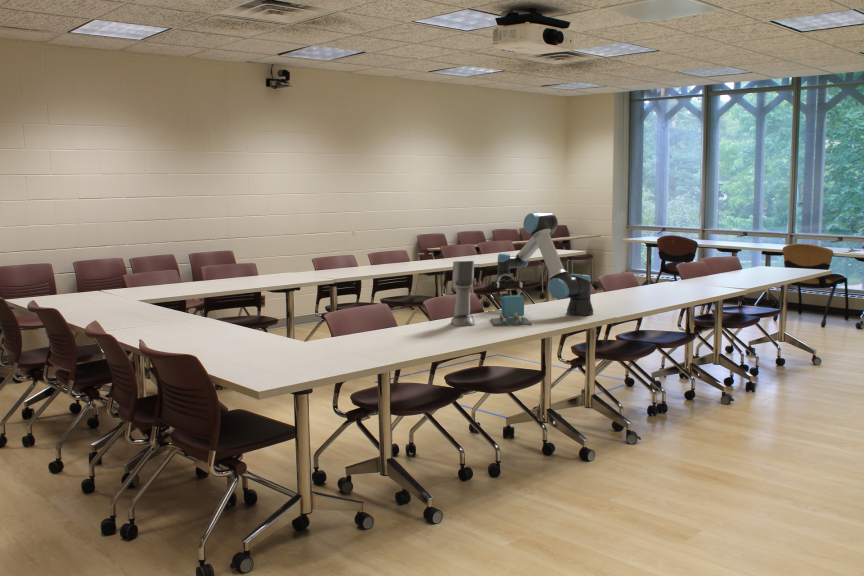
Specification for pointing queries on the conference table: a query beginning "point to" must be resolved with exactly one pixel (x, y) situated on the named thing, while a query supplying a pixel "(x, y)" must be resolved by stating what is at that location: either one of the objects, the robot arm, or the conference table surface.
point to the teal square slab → (512, 306)
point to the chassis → (509, 321)
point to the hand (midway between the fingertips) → (510, 285)
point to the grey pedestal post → (462, 292)
